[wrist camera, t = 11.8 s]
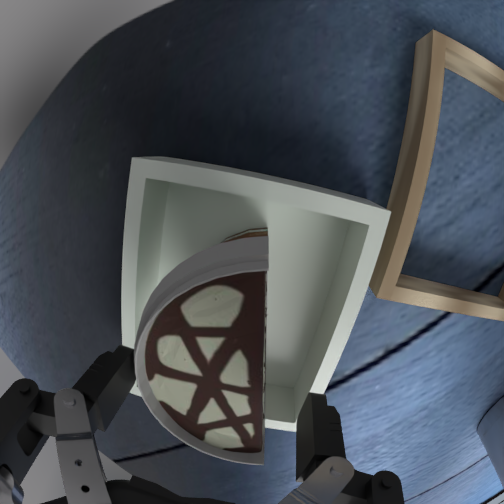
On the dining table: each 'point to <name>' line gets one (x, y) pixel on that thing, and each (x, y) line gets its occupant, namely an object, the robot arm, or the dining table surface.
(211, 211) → the bin
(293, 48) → the dining table surface
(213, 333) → the food container
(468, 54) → the bin frame
